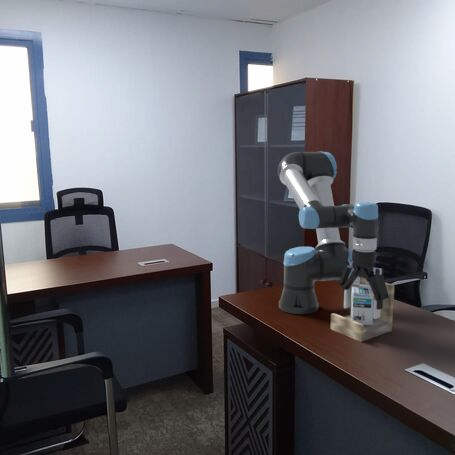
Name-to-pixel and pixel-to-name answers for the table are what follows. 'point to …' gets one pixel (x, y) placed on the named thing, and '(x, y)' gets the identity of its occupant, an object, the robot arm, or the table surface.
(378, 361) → the table surface
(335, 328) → the board
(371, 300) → the light bulb box
